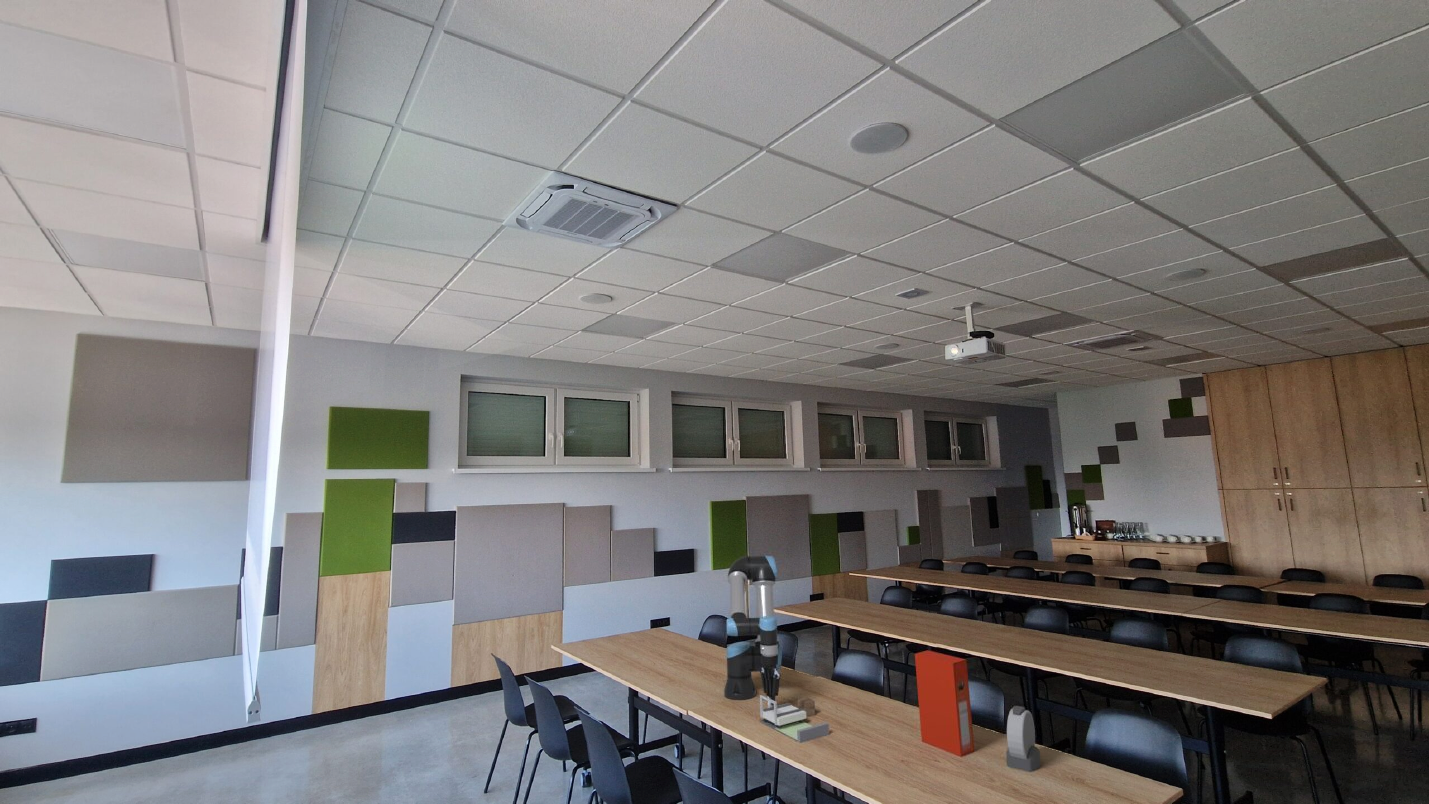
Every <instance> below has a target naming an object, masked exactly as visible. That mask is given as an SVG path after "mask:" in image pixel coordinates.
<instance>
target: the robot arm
mask: <svg viewBox="0 0 1429 804" xmlns="http://www.w3.org/2000/svg"><path fill="white" fill-rule="evenodd" d="M778 579H779V573H778V568H777V563H776V559H775V557H774V556H772V555H754V556H753V555H752V556H740V557H739V558H737V559H736V560H734V562H733V563H732V564H731V566H730V567H729V570H728V573H727V582H728V584H729V593H730V594H729V595H730V596H729V601H730V603H729V605H730V617H729V618H727V619H726V635H727V636H729V637H730V636H731V637H738V636H739V637H742V636H744V637H745V636H757V638H756V639H755V641H754V645H752V644H751V642H750V641H738V642H737V641H736V642H734V643H732V644H730V645H728V646H727V647H726V655H725V656H726V673H727V674H726V681H725V686H724V690H723V695H724V697H725V698H727V699H730V700H736V701H737V700H738V701H740V700H744V701H745V700H749V699H752V698H754V697H756V695H757V690H756V686H755V684H754V680H753V678H752V677H753V675H752V672H753V673H754V672H757V673H758V672H759V673H760V679H761V683H762V689H763V690H762V691H763V693H764V694H765V695H766V697H767V698H769V699H771V700H773V701H776V697H778V696H779V691H780V689H779V688H780V682H781V681H780V680H781V677H782V674H781V673H779V671H780V669H781V667H782V661H783V660H782V659H783V645H782V644H780V641H779V639H778V623H777V618H776V617H775V610H774V609H775V608H774V606H775V605H774V588H773V586H774V585H775V584H776V581H777V580H778ZM747 581H752V582H751V583H752V585H753V586H754V588H755V605H756V607H755V609H756V617H748V615H747V613H748V611H747V609H748V608H747V592H746V591H747V590H746V589H747V588H746V583H747ZM766 701H767V700H766ZM770 707H774V704H773V703H771V702H769V701H767V708H770Z"/></svg>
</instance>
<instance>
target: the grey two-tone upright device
mask: <svg viewBox="0 0 1429 804" xmlns="http://www.w3.org/2000/svg"><path fill="white" fill-rule="evenodd" d="M1006 722H1007V723H1006V740H1007V749H1006V752H1005V755H1006V766H1007V767H1008V768H1010V769H1011V768H1012V769H1016V770H1019V771H1023V772H1028V773H1033V772H1036V771H1037V770H1038V769H1039V768H1040V767H1041V764H1042V763H1041V762H1042V761H1041V755H1040V749H1039V748H1038V747H1037V746H1035V745H1036V741H1035V740H1036V734H1035V733H1036V731H1035V724H1034V718H1033V715H1032V713H1031V712H1030V710H1028V709H1026V706H1025V707H1024V706H1021V705H1013V707H1012V708H1011V709H1010V710H1009V714H1008V716H1007V721H1006Z"/></svg>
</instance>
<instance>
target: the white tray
mask: <svg viewBox="0 0 1429 804" xmlns="http://www.w3.org/2000/svg"><path fill="white" fill-rule="evenodd" d="M763 700H765V701H769V702H771V703H773V704H774V707H770V708H768V707H767V708H764V704H763ZM759 707H760V709H759V710H760V711H759V713H760V714H759V715H760V718H761V719H762V718H763V719H764V721H765V722H767V721H771V722H773V723H775V725H777V728H782V725H784V724H787V723H791V722H795V721H799V722H804V720H805V719H807V718H806V712H805V711H803V710H802V708H800V709H799V708H798V707H797V706H794V705H792V703H791V702H787V703H783V704H778V705H777V701H776V700H775V701H773V700H771V699H769V698H767V696H764V695H762V694H760V695H759Z"/></svg>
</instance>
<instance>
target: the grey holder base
mask: <svg viewBox="0 0 1429 804" xmlns="http://www.w3.org/2000/svg"><path fill="white" fill-rule="evenodd" d="M758 722H759V723H762V724H763V725H765V726H767V727H770V728H771V729H773V730H775V731H777V732H779V733H781V734H782V735H785V737H789V738H790V739H792V740H794V741H796V742H798V743H799V744H800V743H805V742H808V741H811V740H814V739H819V738H822V737H824V736H829V735H830V729H829V727H830V726H829V723H828V722H822V723H820V724H815V725H812V724H809V723H807V722H806V721H803V722H799V721H795V722H791V723H787V724H784V725H782V728H777V725H775V723H773V722H771V721H767V722H765V721H764V718H763V719H759V720H758Z"/></svg>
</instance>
